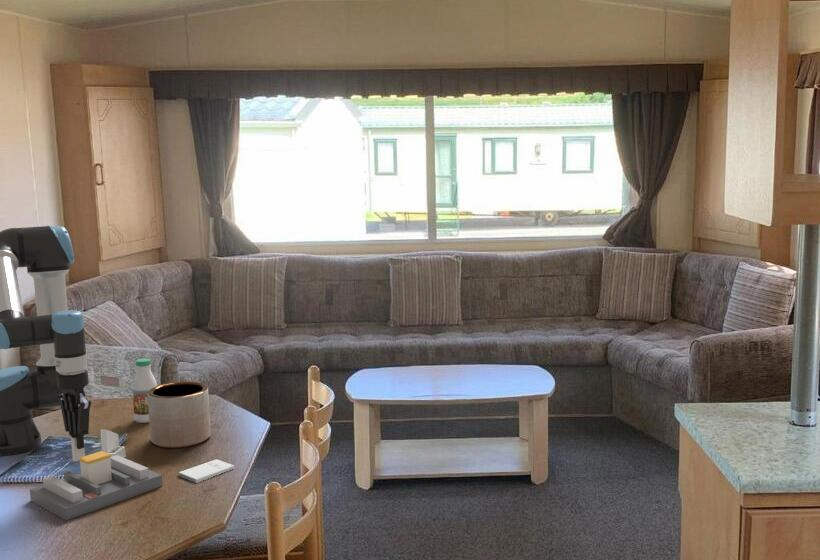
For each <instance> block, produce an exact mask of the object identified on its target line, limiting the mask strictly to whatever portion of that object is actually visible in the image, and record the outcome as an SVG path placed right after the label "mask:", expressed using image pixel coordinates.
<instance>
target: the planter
mask: <svg viewBox="0 0 820 560" xmlns="http://www.w3.org/2000/svg"><path fill="white" fill-rule="evenodd" d="M148 405H149V422H148V424H149V426H148V427H149V437H150V438H149V439H150V442H151V443H152V444H153V445H156V446H158V447H160V448H167V449H179V448H180V449H181V448H189V447H193V446H195V445H196V446H197V445H199V444H201V443H204V442H205V441H206V440H207V439H210V436H211V434H212V428H211V427H212V426H211V413H210V400H209V386H208V385H207V384H205V383H203V382H198V381H174V382H168V383H163V384H160V385H157V386H156V387H153V388H152V389H150V390H149V391H148Z"/></svg>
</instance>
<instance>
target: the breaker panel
mask: <svg viewBox="0 0 820 560" xmlns="http://www.w3.org/2000/svg"><path fill="white" fill-rule="evenodd" d="M110 461H111V474H112V480H110V481H107V482H104V483H101V484H98V485H97V484H94V483H92V482H90V481H88V480H86V479H84V478H82V477H81V472H80V473H77V474H75V473H73V472H72V471H69V470H67V471H64V472H63V477H64V478H62V479H60V478H58V477H56V476H55V475H52V474H51V475H49V476H45V477H43V478H42V483H43V484H42V485H38V486H36V487H33V488H30V489H29V496H30V501H31V502H32V503H34V504H36V505H38V506H39V507H40V508H43V509H45V510H47V511H49V512H51V514H54V515H55V516H58V517H59V518H61V519H63V520H65V521H68V520H71V519H72V520H73V519H75V518H78V517H80V516H83V515H86V514H88V513H91V512H94V511H97V510H99V509H102V508H105V507H107V506H111V505H114V504H115V503H116V504H117V503H119V502H122V501H124V500H127V499H130V498H133V497H136V496H139V495H141V494H145V493H146V492H150V491H152V490H155V489H159V488H160V487H163V475H162V474H160V473H158V472H155V471H153V470H151V469H149V467H147V466H144V465H142V464H140V463H138V462H135V461H132V460H130V459H128V458H126V457H125V458H123V457H121V456H118V455H116V456H113V457H111V458H110Z"/></svg>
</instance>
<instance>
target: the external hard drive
mask: <svg viewBox="0 0 820 560" xmlns="http://www.w3.org/2000/svg"><path fill="white" fill-rule="evenodd" d="M232 469H233V470H235V465H234V464H232V463H228V462H226V461H223V460H220V459H217V458H216V459H213V460H210V461H208V462H205V463H202V464H198V465H196V466H193V467H190V468H187V469H185V470H182V471H178V473H177V476H178V477H180V476H181V477H180V478H182V477H183V479H185V480H187V479H188V481H190V482H192V481H193V483H195V484H199V483H200V482H201V483H202V482H203V480H204V481H206V480H209V479H211V477H212V478H214V477H213V476H215V475H217V476H219V474H220V475H222V474H221V473H223V474H225V473H227V472H226V471H228V472H230V471H229V470H231V471H233V470H232ZM224 472H225V473H224ZM215 477H216V476H215ZM208 478H209V479H208Z"/></svg>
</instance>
